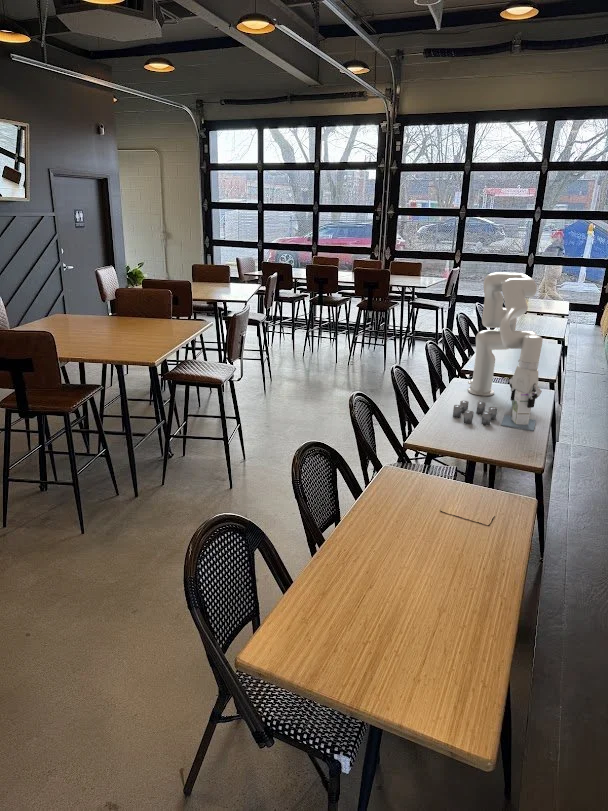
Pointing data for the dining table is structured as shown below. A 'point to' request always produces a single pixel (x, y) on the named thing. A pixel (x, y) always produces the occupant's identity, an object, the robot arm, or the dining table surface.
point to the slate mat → (509, 423)
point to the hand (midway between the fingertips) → (521, 403)
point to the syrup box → (521, 408)
